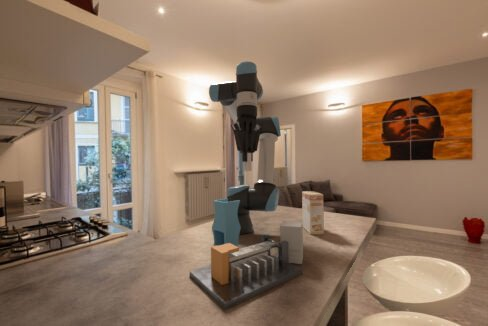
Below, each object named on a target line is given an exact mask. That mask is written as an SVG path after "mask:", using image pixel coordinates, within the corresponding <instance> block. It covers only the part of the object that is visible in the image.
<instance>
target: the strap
mask: <svg viewBox="0 0 488 326" xmlns="http://www.w3.org/2000/svg"><path fill="white" fill-rule="evenodd" d="M278 242H279V241H276V240H273V239H272V238H270V239H267V240H266V242H262V243H261V242H260V243H256V244H251V245H248V246H246V247H242V248H239V251H238V252H234V253H231V254H228V262H231V261H234V260H237V259H240V258H244V257H247V256H250V255H253V254H256V253H259V252H263V251H266V250H269V249H270V250H272V249H275V248H278Z"/></svg>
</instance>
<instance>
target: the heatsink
mask: <svg viewBox="0 0 488 326" xmlns="http://www.w3.org/2000/svg"><path fill="white" fill-rule="evenodd" d="M267 239H271V235H269V234H264V235H261V236H260V243H262V242H266V240H267ZM277 242H278V247H277V249H278V253H277V254H278V256H274V255H272V254H271V249H269V250H266V251H263V252H259V253H256V254H253V255H250V256H247V257H244V258H240V259H237V260H234V261H231V262H228V283H226V284H224V285H221V284H220V283H219V282H218V281H216V280H215V279H214V278H213V277H211V264H209V265H206V266H202V267H200V268H196V269H193V270H189V277H190V278H191V279H192V280H193V281H194V282H195V283H196V284H197V285H198V286H199V287H200V288H202V290H203V291H204V292H206V293H207V295H209V297H211V298H212V299H213V300H214V301H215V302H216V303H217V304H218V305H219V306H220V307H221V308H222V309H223V310H224V311H226V310H228V309H230V308H233V307H234V306H237V305H238V304H239V305H240V304H241V303H243V302H245V301H248V300H250V299H253V297H256V296H258V295H260V294H262V293H264V292H266V291H268V290H270V289H273V288H275V287H277V286H279V285H281V284H283V283H285V282H287V281H289V280H292V279H294V278H296V277H298V276H300V275H302V274H303V268H302V267H299V266H297V265H296V264H294V263H289V255H288V242H287V241H282V242H280V241H277Z"/></svg>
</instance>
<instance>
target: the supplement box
mask: <svg viewBox="0 0 488 326" xmlns="http://www.w3.org/2000/svg"><path fill="white" fill-rule="evenodd" d="M303 228H304V227H303V226H302V221H289V220H287V221H286V220H283V221H282V223H281V224H280V225H279V231H280V234H279V236H280V240H279V242H282V241H287V242H288V255H289V263H290V264H295V265H296V264H297V265H303V259H304V234H303Z"/></svg>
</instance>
